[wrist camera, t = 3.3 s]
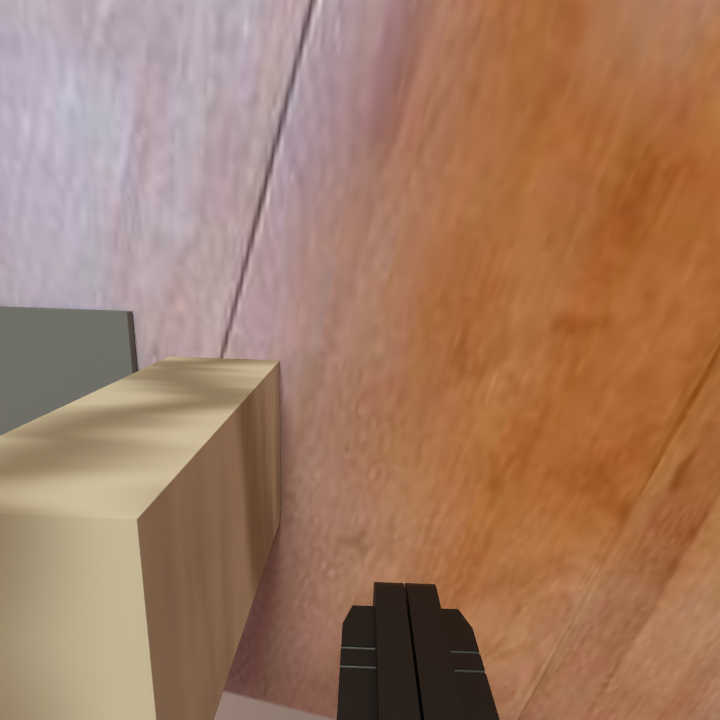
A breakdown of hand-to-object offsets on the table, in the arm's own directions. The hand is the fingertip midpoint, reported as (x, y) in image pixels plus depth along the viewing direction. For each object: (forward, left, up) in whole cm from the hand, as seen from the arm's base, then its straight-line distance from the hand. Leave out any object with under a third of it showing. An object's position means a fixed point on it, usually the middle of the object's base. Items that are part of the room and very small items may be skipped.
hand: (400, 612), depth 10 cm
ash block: (+7, 0, -10) cm, 12 cm away
